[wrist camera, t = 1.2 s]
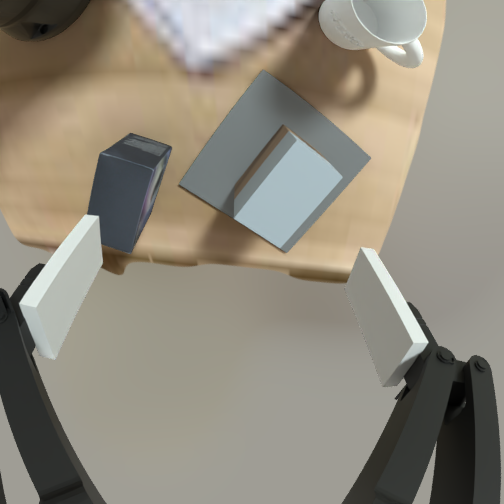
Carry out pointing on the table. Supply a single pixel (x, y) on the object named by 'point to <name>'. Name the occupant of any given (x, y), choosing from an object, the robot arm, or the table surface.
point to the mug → (377, 27)
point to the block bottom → (265, 157)
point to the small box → (127, 189)
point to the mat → (258, 135)
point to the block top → (285, 190)
